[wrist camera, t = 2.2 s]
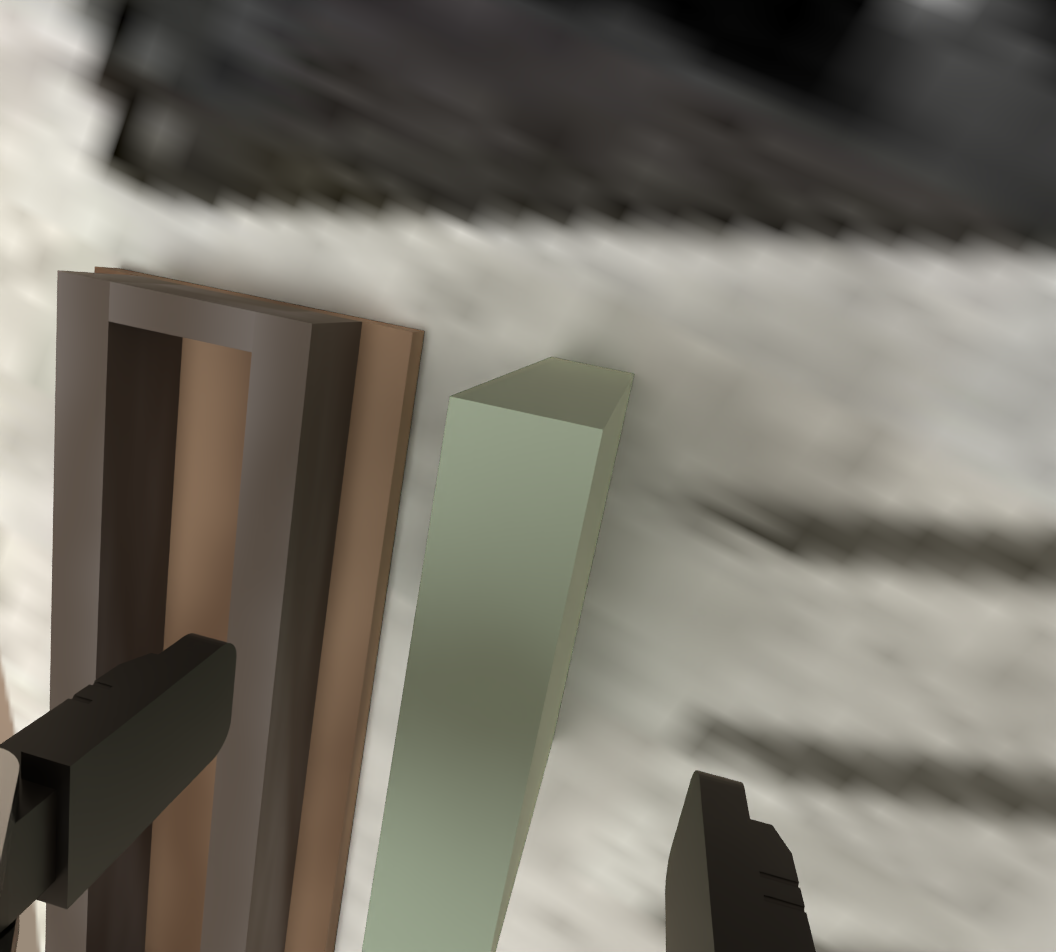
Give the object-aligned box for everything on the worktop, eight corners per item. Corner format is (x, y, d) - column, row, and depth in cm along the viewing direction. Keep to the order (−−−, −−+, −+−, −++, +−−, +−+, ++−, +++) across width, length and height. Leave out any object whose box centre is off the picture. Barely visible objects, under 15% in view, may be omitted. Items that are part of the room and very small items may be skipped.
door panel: (634, 373, 20) (603, 429, 11) (552, 740, 23) (471, 1038, 14) (551, 356, 21) (449, 397, 11) (481, 720, 24) (354, 998, 14)
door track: (424, 331, 21) (370, 335, 17) (325, 1012, 28) (269, 1125, 24) (119, 268, 22) (6, 259, 19) (93, 932, 29) (6, 1026, 25)
